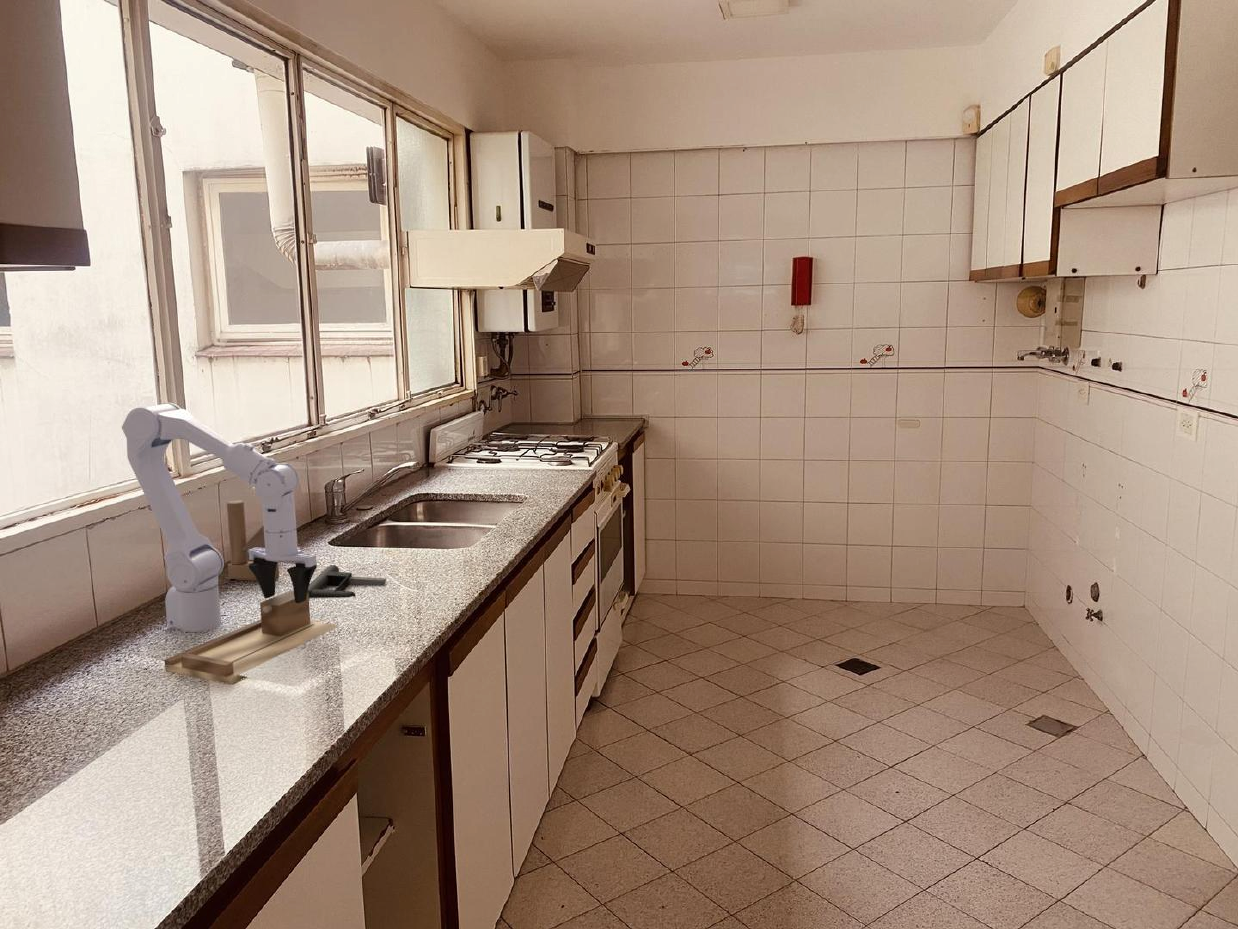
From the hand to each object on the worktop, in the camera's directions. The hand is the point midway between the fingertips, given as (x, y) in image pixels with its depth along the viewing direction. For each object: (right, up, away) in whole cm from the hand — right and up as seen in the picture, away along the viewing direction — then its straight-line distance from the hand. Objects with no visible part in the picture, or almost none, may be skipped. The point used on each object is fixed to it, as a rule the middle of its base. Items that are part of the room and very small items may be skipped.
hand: (285, 599), depth 173 cm
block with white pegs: (0, -6, +1) cm, 6 cm away
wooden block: (-20, -1, +36) cm, 42 cm away
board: (-2, -8, -7) cm, 11 cm away
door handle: (+3, -3, +29) cm, 29 cm away
